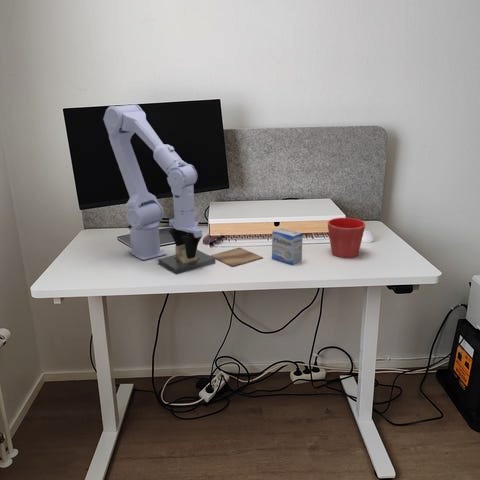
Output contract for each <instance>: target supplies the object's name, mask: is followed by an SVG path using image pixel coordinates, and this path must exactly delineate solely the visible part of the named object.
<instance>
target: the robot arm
mask: <svg viewBox="0 0 480 480" xmlns="http://www.w3.org/2000/svg"><path fill="white" fill-rule="evenodd" d="M102 120H103V123H104V126H105V128H106V131H107V134H108V139H109V141H110V145H111V148H112V151H113V153H114V156H115V159H116V162H117V164H118V169H119V171H120V173H121V176H122V179H123V182H124V185H125V187H126V190H127V193H128V196H129V199H128V201H127V202H126V204H125V206H124V207H125V209H126V218H127V222H128V224H129V225H130V231H129V236H130V237H129V239H130V246H131V247H130V250H128V253H129V254H131V255H133V256H135V257H136V258H138V259H139V260H141V261H145V260H150V259H155V258H158V257H162V256H166V255H167V253H166V252H164V251H163V250H161V243H160V241H161V240H160V239H161V238H160V229H159V228H160V226H159V225H161V220H162V219H163V217H164V209H163V206H162V205H161V204H160V203H159V201H158V198H157V196H156V195H154V194H152V193H150V192H149V190H148V188H147V186H146V182H145V180H144V177H143V173H142V171H141V169H140V165H139V163H138V159H137V156H136V154H135V152H134V149H133V146H132V143H131V140H132V136H133V135H134V134H136V135H137V136H138V138H140V139H141V140H142V141H143V142H144V143H145V144H146V146H148V147H149V149H150V150H152V152H153V159H154V160H155V162H156V163H157V164H158V165H159V167H160V168H161V170H163V172H165V174H166V175H167V177H166V180H167V183H168V185H169V187H170V189H171V193H172V200H173V215H174V216H173V218H169V219H168V222H169V223H168V225H169V227H173V228H172V229H170V230H168V231H169V234H170V235H171V237H172V239H173V241H174V244H175V246H179V245H183V244H185V248H186V254H187V258H188V259H190V258H194V257H195V254H196V249H197V250H198V246H199V243H200V240H201V238H203V229H202V228H200V227H199V222H198V221H196V212H195V193H194V192H195V191H194V189H195V188H194V187H195V186H194V185H195V184H196V182H197V180H198V172H197V170H196V168H195V166H194V165H193V164H190V163H187V162H186V161H184V160H182V158H181V157H180V155H179V154H178V153H177V152H176V151H175V147H174V146H173V145H170V144H164V143H163V141H162V140H161V139H160V137H159V135H158V134H157V133H156V132H155V130H154V129H153V127H152V126H151V124H150V123H149V122H148V120H147V114H146V113H145V111H144V110H143V109H142V108H141V106H140V105H138V104H137V103H132V104H127V105H126V104H125V105H116V106H115V105H111V106H108V107H107V109H105V113H104V115H103V119H102Z"/></svg>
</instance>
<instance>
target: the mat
mask: <svg viewBox="0 0 480 480" xmlns="http://www.w3.org/2000/svg"><path fill="white" fill-rule="evenodd" d="M210 256H211V257H213V258H215V260H217V261H218V262H220V263H221V262H222V263H223V264H225V265H227V266H229V267H231V268H235V267H238V266H241V265H245V264H248V263H252V262H255V261H258V260H262V259H264V258H263V256H261V255H258V254H257V253H254V252H251V251H249V250H247V249H246V248H243V247H236V248H233V249H229V250H225V251H221V252H218V253H214V254H211V255H210Z"/></svg>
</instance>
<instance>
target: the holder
mask: <svg viewBox="0 0 480 480" xmlns="http://www.w3.org/2000/svg"><path fill="white" fill-rule="evenodd" d="M197 257H198V260H196V261H192V262H188V263H184V264H183V263H181V262H179V261H178V260H176V254H172V255H169V256H165V257H162V258H158V259H157V260H158V261H157V262H158V265H160V266H161V267H163V268H164V269H166V270H168V271H169V272H170V273H171V272H172V273H173V274H175V275H179V274H182V273H186V272H190V271H193V270H197V269H201V268H203V267H207V266H212V265H215V264H216V262H217V261H216V259H215V258H213V257H211V255H209V254H206V253H205V252H203V251H201V250H199V249H197Z"/></svg>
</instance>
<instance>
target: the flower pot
mask: <svg viewBox="0 0 480 480" xmlns="http://www.w3.org/2000/svg"><path fill="white" fill-rule="evenodd" d="M365 227H366V223H365V221H363V220H361V219H358V218H355V217H354V218H353V217H335V218H331V219H329V220H328V221H327V229H328V230H327V231H328V238H329V245H330V250H331V253H332V256H335V257H338V258H346V259H350V258H351V259H352V258H356V257H357V256H359V252H360V249H361V248H360V247H361V245H362V240H363V237H364V231H365Z"/></svg>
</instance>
